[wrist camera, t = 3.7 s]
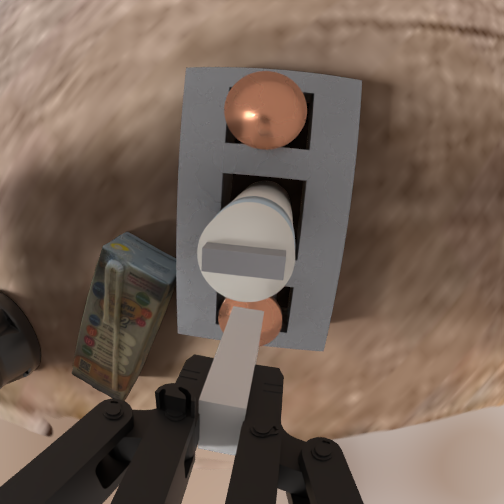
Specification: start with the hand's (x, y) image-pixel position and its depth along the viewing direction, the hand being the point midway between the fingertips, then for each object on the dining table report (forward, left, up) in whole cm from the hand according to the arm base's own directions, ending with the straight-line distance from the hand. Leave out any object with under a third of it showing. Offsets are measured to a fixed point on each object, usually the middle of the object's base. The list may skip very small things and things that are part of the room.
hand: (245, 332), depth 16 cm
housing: (0, +3, -17) cm, 17 cm away
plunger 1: (0, +11, -14) cm, 18 cm away
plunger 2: (0, -5, -16) cm, 17 cm away
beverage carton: (-15, -11, -17) cm, 25 cm away
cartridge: (0, +3, -17) cm, 17 cm away
